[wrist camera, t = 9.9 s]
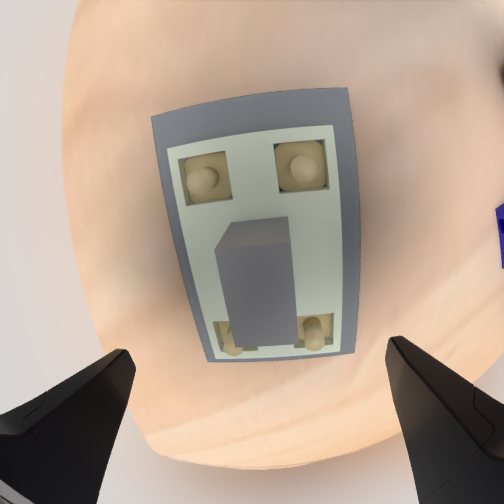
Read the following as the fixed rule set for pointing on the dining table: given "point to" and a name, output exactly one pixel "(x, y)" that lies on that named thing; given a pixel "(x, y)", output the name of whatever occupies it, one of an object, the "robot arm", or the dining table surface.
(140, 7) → the dining table surface
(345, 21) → the dining table surface
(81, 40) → the dining table surface
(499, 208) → the blue u-shaped cradle
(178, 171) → the board
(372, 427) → the dining table surface
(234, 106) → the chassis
